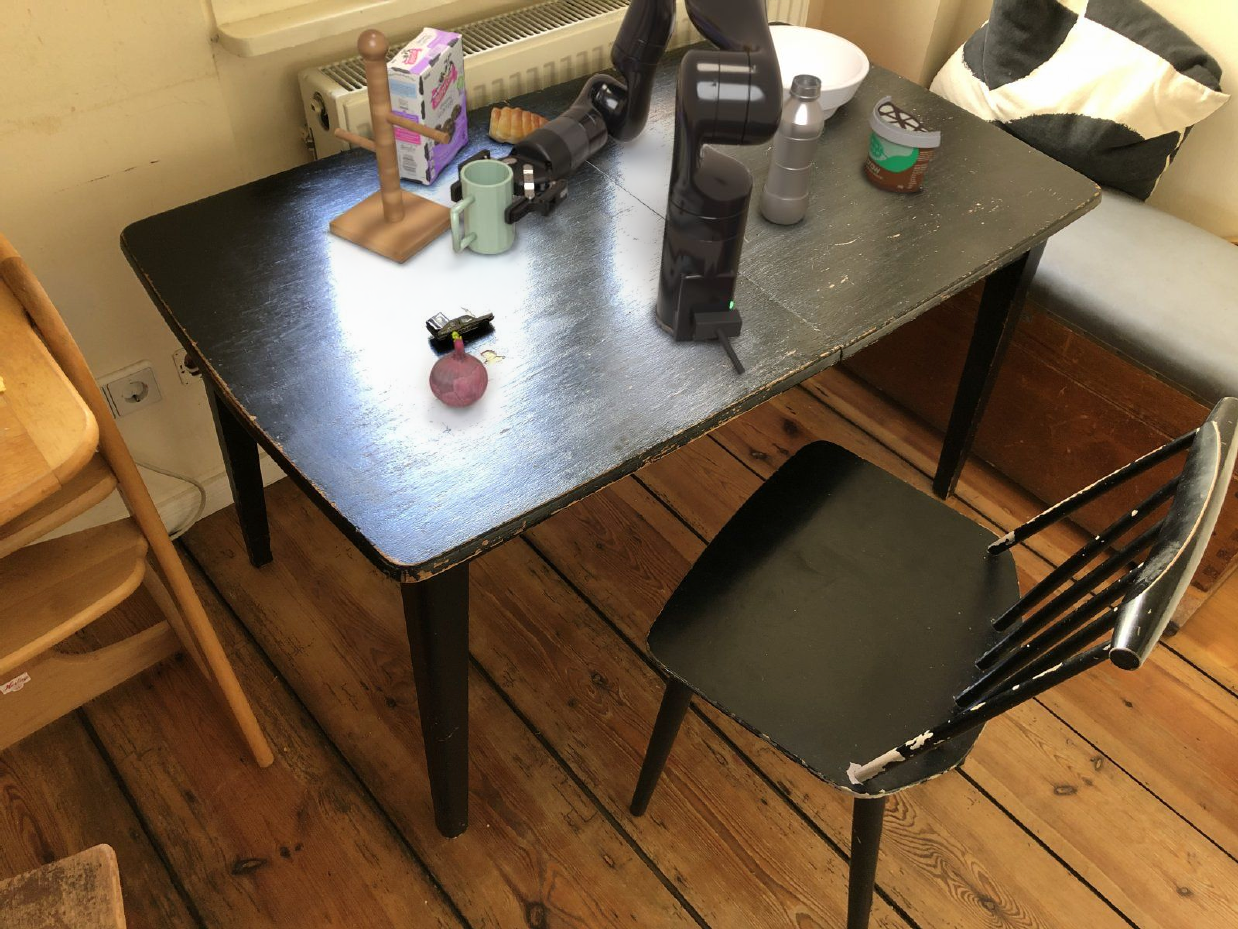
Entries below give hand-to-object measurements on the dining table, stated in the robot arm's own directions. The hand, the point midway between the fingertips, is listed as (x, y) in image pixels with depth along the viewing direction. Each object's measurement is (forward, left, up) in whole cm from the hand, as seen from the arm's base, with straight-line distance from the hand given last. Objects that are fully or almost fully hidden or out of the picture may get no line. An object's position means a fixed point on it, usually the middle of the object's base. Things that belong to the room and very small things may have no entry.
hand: (479, 206), depth 128 cm
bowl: (+36, -52, -6) cm, 63 cm away
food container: (+13, -60, -6) cm, 62 cm away
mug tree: (+5, +11, -6) cm, 14 cm away
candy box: (+22, +6, -6) cm, 24 cm away
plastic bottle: (+4, -42, -6) cm, 43 cm away
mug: (0, 0, -6) cm, 6 cm away
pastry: (+29, -7, -6) cm, 30 cm away
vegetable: (-30, +4, -6) cm, 31 cm away
